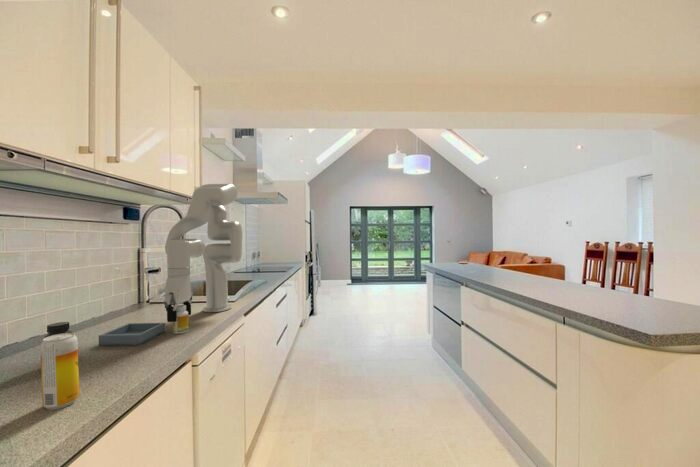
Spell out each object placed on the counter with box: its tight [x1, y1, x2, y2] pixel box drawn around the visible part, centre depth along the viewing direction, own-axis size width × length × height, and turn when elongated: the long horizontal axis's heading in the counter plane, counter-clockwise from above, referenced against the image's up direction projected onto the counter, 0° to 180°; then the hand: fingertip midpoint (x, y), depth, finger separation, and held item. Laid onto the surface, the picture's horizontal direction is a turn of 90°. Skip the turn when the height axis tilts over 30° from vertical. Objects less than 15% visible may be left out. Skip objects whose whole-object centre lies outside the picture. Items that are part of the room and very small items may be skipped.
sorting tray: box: [98, 322, 166, 347], centre depth 113 cm, size 14×14×4 cm
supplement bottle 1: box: [41, 321, 74, 343], centre depth 92 cm, size 7×7×12 cm
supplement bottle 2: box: [171, 304, 190, 335], centre depth 120 cm, size 5×5×10 cm
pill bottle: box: [39, 332, 80, 411], centre depth 71 cm, size 6×6×15 cm
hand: (179, 318), depth 119 cm, fingers open, 9 cm apart
